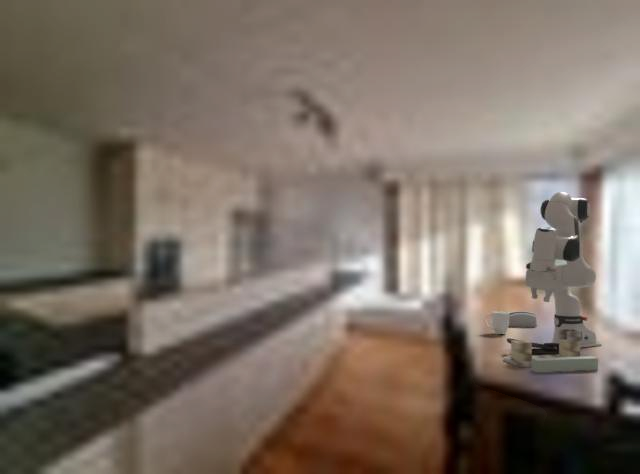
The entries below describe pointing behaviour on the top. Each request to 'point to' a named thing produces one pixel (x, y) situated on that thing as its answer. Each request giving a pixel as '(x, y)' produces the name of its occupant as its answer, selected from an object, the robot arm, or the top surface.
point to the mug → (499, 321)
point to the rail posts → (523, 355)
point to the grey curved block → (522, 319)
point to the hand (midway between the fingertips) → (540, 300)
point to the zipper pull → (547, 348)
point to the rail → (564, 364)
